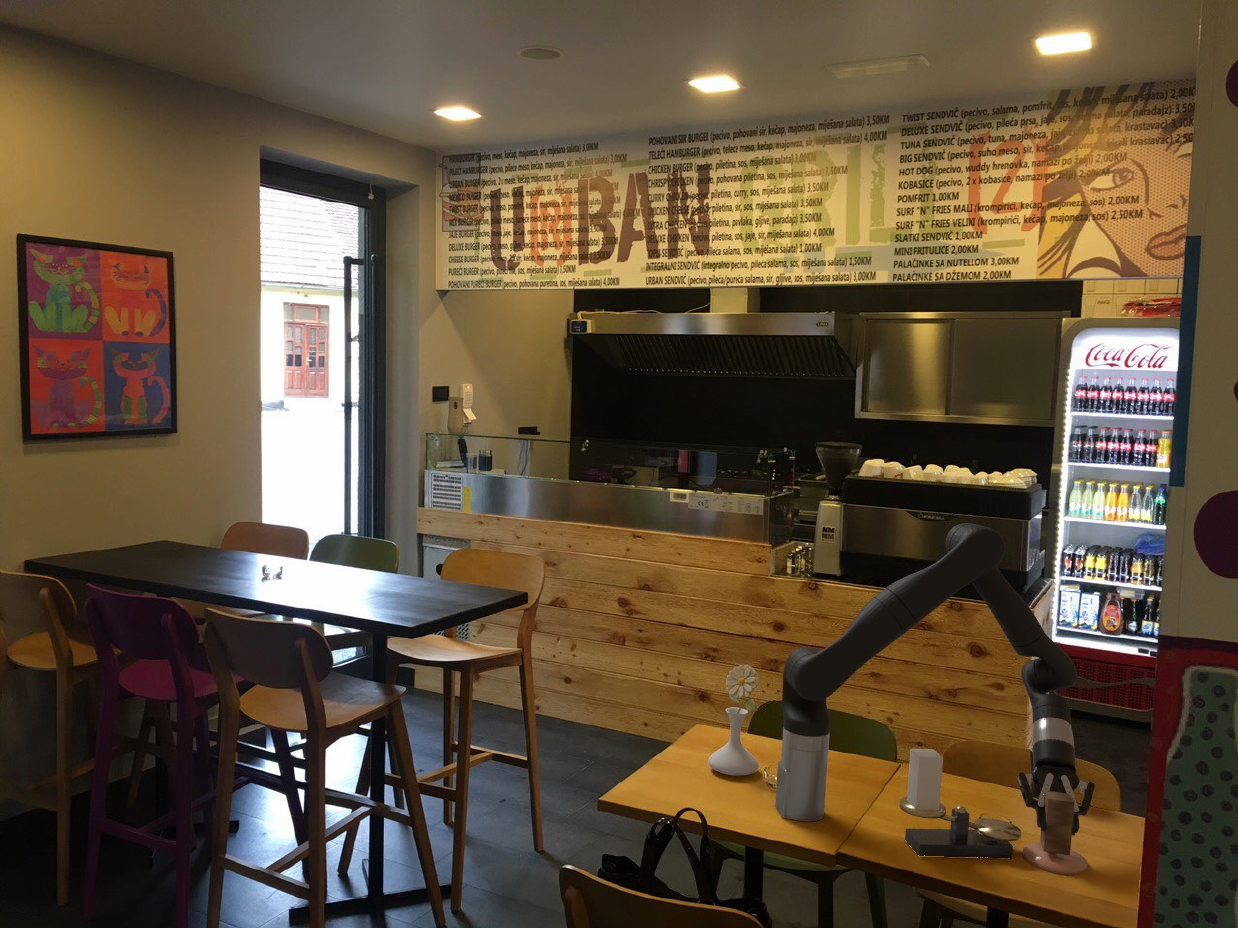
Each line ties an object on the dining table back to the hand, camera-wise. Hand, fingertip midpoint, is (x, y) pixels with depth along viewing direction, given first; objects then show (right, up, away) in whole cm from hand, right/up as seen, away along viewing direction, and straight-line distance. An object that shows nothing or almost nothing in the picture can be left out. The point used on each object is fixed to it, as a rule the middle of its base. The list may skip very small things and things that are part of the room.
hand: (1058, 831), depth 185 cm
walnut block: (0, -4, +2) cm, 4 cm away
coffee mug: (+14, -6, +35) cm, 39 cm away
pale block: (-24, +4, +3) cm, 25 cm away
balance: (-17, -5, +4) cm, 18 cm away
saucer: (0, -6, +2) cm, 7 cm away
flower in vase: (-55, -1, +39) cm, 68 cm away
